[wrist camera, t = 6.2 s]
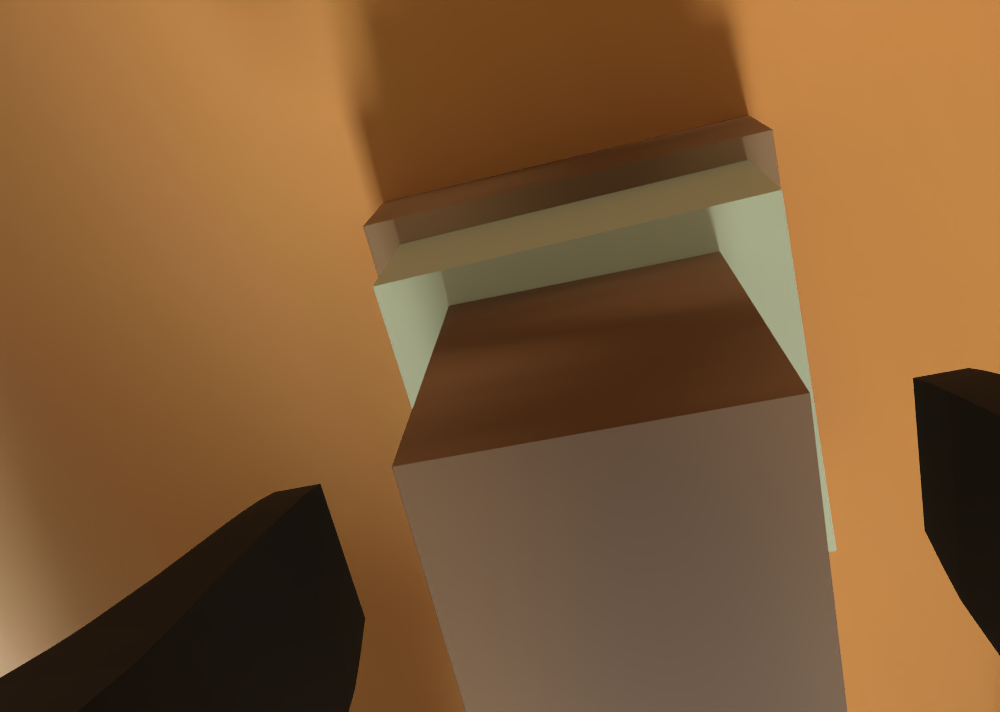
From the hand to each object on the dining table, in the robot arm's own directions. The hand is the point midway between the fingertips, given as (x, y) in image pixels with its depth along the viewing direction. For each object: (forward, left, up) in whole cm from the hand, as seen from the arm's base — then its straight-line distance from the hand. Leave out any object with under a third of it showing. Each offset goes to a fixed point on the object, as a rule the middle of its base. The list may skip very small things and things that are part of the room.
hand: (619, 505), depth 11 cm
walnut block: (0, 0, -3) cm, 3 cm away
